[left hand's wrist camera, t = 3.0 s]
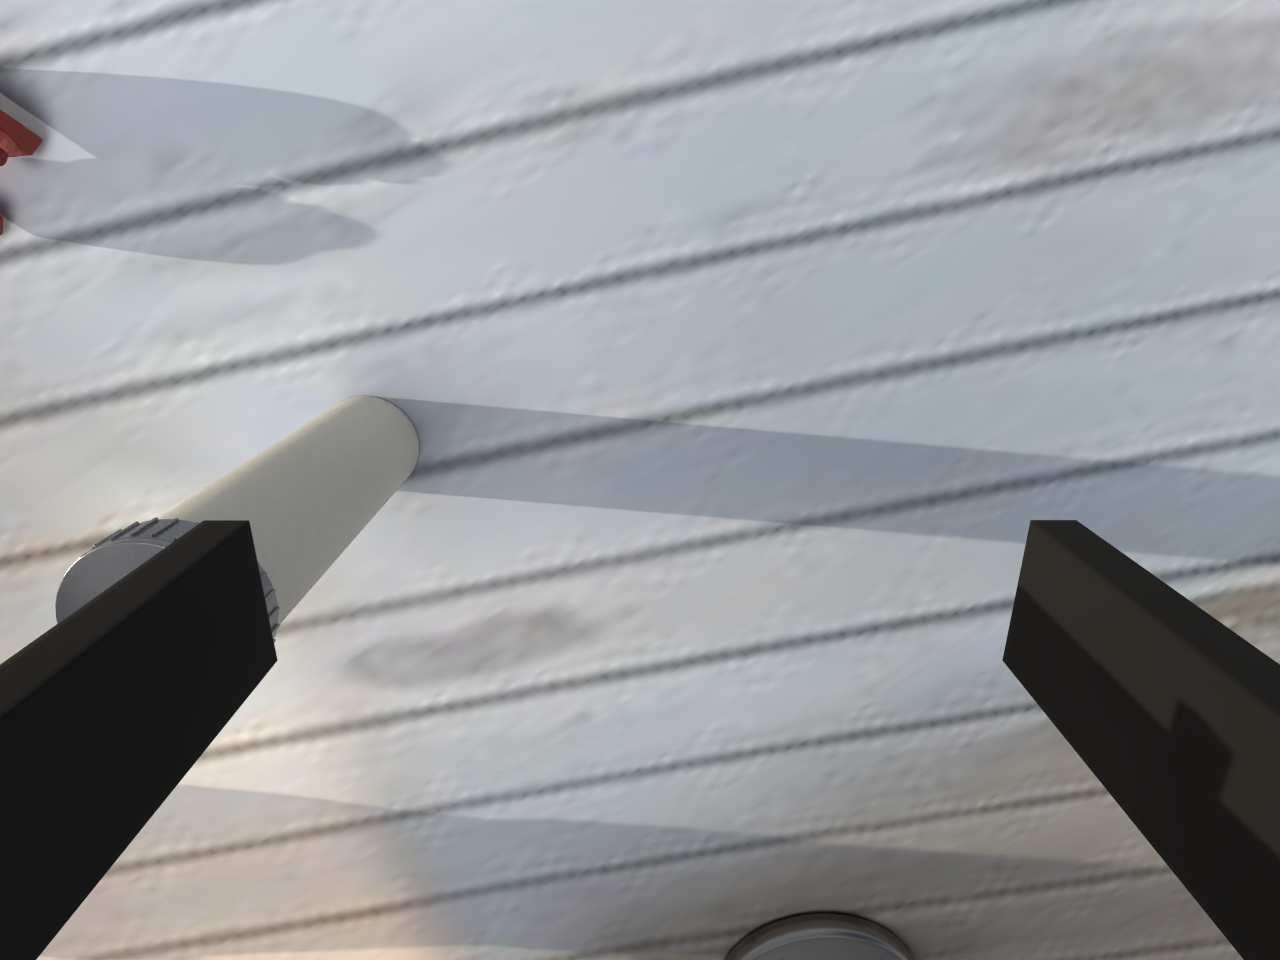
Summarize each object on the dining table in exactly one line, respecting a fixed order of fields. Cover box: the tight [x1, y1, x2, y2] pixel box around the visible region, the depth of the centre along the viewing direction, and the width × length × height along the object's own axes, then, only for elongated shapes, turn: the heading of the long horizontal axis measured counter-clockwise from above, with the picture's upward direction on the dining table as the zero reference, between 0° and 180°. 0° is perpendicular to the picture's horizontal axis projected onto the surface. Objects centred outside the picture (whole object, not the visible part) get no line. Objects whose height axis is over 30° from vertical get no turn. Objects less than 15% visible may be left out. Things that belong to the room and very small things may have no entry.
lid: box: [56, 518, 280, 642], centre depth 24 cm, size 6×6×2 cm
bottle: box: [158, 396, 419, 624], centre depth 32 cm, size 6×6×19 cm
